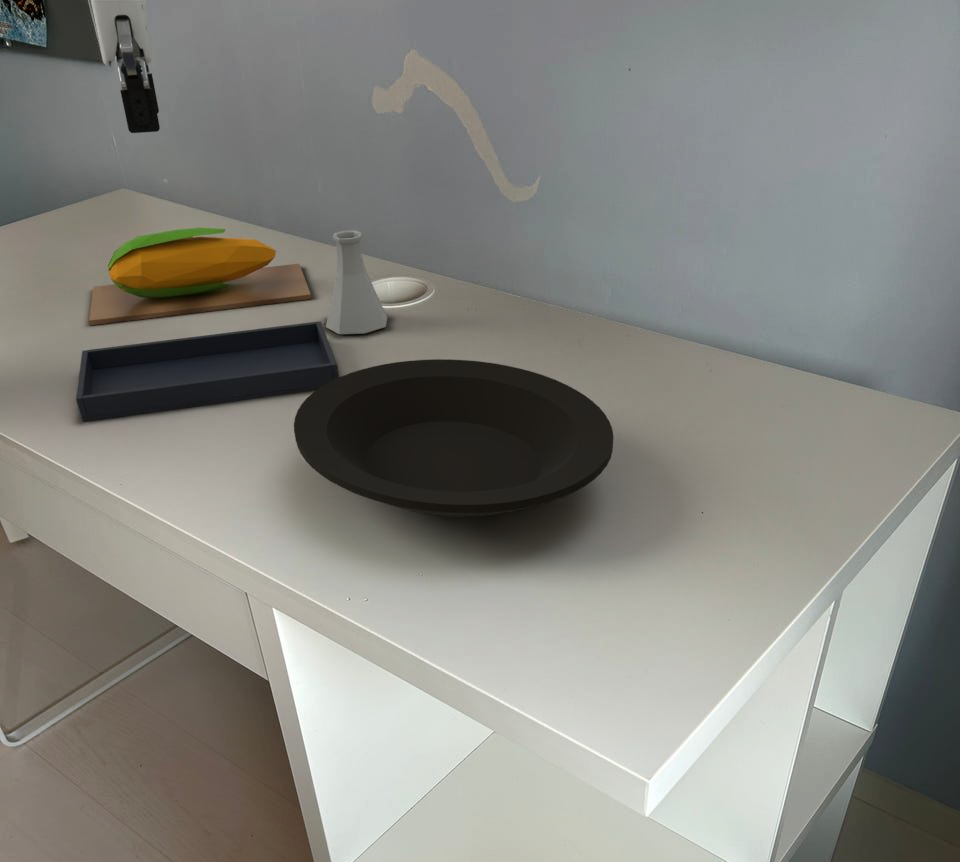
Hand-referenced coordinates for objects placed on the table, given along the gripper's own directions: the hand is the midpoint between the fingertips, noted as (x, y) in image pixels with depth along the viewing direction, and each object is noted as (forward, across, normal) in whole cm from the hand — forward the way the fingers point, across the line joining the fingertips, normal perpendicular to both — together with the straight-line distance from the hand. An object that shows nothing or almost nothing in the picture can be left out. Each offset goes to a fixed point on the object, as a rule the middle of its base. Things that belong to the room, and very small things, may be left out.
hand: (144, 122), depth 108 cm
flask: (+20, +14, +20) cm, 31 cm away
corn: (+19, -2, +2) cm, 20 cm away
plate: (+20, +53, +22) cm, 61 cm away
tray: (+20, +24, +2) cm, 32 cm away
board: (+20, -2, +2) cm, 20 cm away
